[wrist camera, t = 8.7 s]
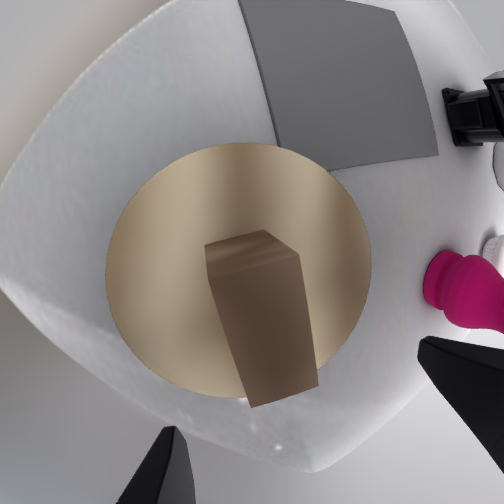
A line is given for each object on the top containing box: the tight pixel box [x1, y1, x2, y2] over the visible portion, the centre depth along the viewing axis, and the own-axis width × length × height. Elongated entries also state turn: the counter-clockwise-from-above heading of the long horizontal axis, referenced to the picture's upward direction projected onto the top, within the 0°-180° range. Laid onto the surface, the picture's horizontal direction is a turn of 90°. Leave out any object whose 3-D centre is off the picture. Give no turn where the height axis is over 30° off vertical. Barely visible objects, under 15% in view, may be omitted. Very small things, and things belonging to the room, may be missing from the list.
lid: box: [105, 143, 371, 408], centre depth 12 cm, size 15×15×6 cm
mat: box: [238, 0, 439, 171], centre depth 18 cm, size 16×16×1 cm
